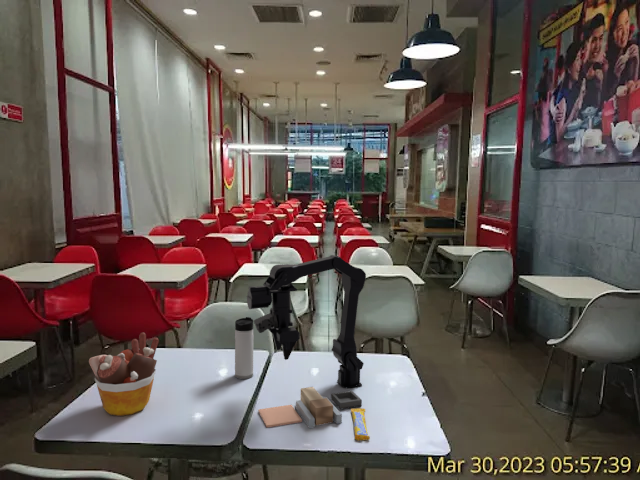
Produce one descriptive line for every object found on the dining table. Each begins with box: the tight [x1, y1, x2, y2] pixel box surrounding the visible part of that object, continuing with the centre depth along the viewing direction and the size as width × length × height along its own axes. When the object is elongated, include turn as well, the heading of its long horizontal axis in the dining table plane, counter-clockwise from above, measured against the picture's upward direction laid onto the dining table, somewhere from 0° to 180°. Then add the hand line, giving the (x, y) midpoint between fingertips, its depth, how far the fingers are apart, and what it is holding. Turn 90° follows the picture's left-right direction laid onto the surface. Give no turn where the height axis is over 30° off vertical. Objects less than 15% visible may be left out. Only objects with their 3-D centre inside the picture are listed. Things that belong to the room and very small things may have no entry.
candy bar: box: [350, 407, 371, 442], centre depth 125 cm, size 17×4×2 cm, turn 179°
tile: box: [257, 404, 303, 428], centre depth 130 cm, size 10×10×1 cm
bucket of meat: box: [88, 332, 160, 417], centre depth 133 cm, size 20×16×20 cm
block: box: [310, 397, 334, 426], centre depth 128 cm, size 5×5×5 cm
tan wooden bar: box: [300, 386, 323, 412], centre depth 135 cm, size 4×9×4 cm, turn 21°
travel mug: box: [234, 316, 254, 380], centre depth 158 cm, size 6×7×20 cm
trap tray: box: [330, 390, 363, 411], centre depth 139 cm, size 7×7×2 cm
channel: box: [295, 396, 343, 429], centre depth 130 cm, size 10×12×2 cm
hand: (282, 354), depth 143 cm, fingers open, 9 cm apart
